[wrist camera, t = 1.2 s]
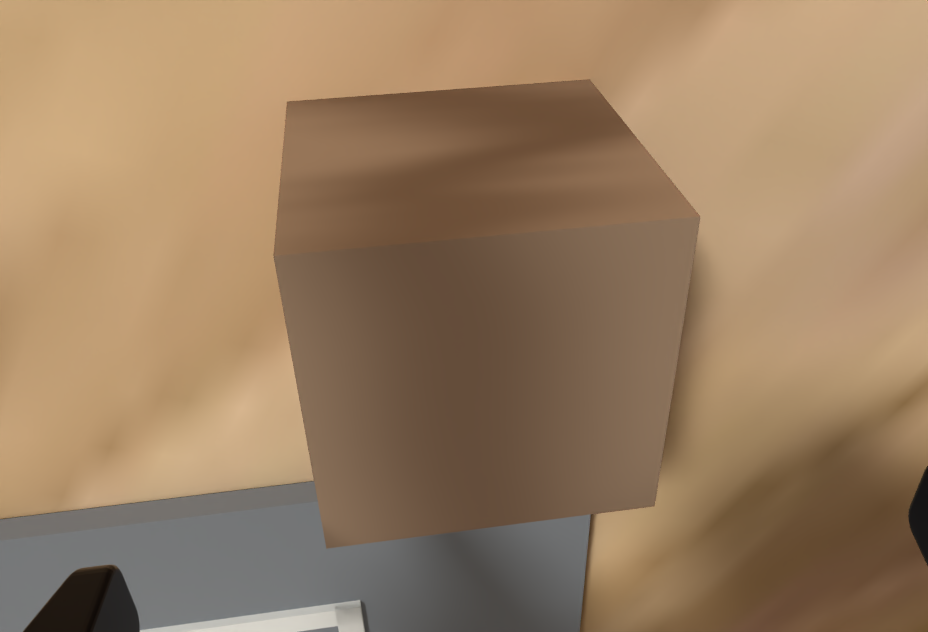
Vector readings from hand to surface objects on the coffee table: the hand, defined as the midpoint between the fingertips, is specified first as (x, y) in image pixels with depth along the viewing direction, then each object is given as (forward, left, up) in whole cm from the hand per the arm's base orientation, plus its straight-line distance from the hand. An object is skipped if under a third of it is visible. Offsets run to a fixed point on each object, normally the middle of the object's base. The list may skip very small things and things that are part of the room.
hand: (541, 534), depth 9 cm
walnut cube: (0, 0, -7) cm, 7 cm away
